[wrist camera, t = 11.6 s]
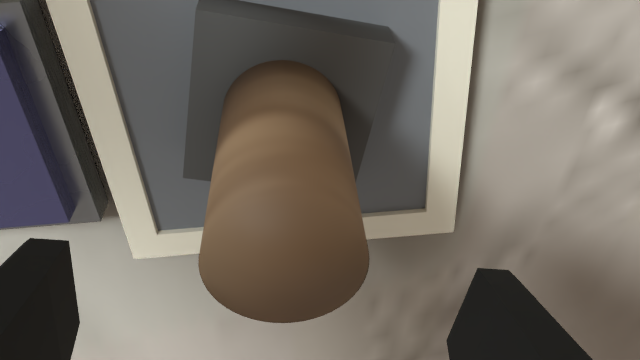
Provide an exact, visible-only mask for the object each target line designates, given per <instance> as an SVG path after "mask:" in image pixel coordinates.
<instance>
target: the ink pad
mask: <svg viewBox="0 0 640 360" xmlns="http://www.w3.org/2000/svg"><path fill="white" fill-rule="evenodd" d="M107 204H108V200H107V197H106V194H105V191H104V188H103V186H102V183H101V180H100V177H99V174H98V171H97V168H96V166H95V163H94V160H93V157H92V154H91V151H90V148H89V146H88V143H87V140H86V137H85V134H84V131H83V128H82V126H81V123H80V120H79V117H78V114H77V111H76V108H75V106H74V103H73V100H72V97H71V94H70V91H69V88H68V86H67V83H66V80H65V77H64V74H63V71H62V68H61V65H60V63H59V60H58V57H57V54H56V51H55V48H54V45H53V43H52V40H51V37H50V34H49V31H48V28H47V25H46V23H45V20H44V17H43V14H42V11H41V8H40V5H39V3H38V0H0V230H1V229H13V228H25V227H37V226H49V225H61V224H73V223H85V222H97V221H101V219H102V216H103V214H104V211H105V209H106V206H107Z"/></svg>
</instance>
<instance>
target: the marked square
mask: <svg viewBox="0 0 640 360" xmlns="http://www.w3.org/2000/svg"><path fill="white" fill-rule="evenodd" d="M198 1H199V0H46V3H47V6H48V9H49V12H50V15H51V18H52V20H53V23H54V26H55V29H56V32H57V35H58V38H59V41H60V44H61V47H62V50H63V53H64V56H65V59H66V61H67V64H68V67H69V70H70V73H71V76H72V79H73V82H74V85H75V88H76V91H77V94H78V97H79V100H80V102H81V105H82V108H83V111H84V114H85V117H86V120H87V123H88V126H89V129H90V132H91V135H92V138H93V141H94V143H95V146H96V149H97V152H98V155H99V158H100V161H101V164H102V167H103V170H104V173H105V176H106V179H107V182H108V184H109V187H110V190H111V193H112V196H113V199H114V202H115V205H116V208H117V211H118V214H119V217H120V220H121V223H122V225H123V228H124V231H125V234H126V237H127V240H128V243H129V246H130V249H131V252H132V255H133V258H134V259H143V258H154V257H166V256H178V255H190V254H199V253H200V247H201V240H202V234H203V228H204V222H205V215H206V209H207V203H208V197H209V190H210V184H211V181H203V180H195V179H187V178H183V168H184V155H185V142H186V129H187V116H188V103H189V89H190V76H191V63H192V50H193V37H194V24H195V11H196V7H197V4H198ZM240 1H246V2H252V3H257V4H263V5H269V6H274V7H280V8H286V9H291V10H297V11H303V12H308V13H314V14H320V15H325V16H331V17H337V18H342V19H348V20H354V21H359V22H365V23H371V24H376V25H382V26H388V27H389V29H390V32H391V34H392V36H393V39H394V41H395V43H396V45H395V48H394V52H393V55H392V59H391V62H390V65H389V69H388V72H387V76H386V79H385V83H384V86H383V90H382V93H381V97H380V100H379V103H378V107H377V110H376V114H375V117H374V121H373V124H372V128H371V131H370V135H369V138H368V141H367V145H366V148H365V152H364V155H363V159H362V162H361V166H360V169H359V173H358V176H357V179H356V188H357V193H358V198H359V203H360V209H361V214H362V219H363V224H364V230H365V235H366V240H367V239H379V238H390V237H402V236H414V235H426V234H438V233H449V232H454V225H455V216H456V206H457V197H458V187H459V178H460V168H461V159H462V149H463V140H464V130H465V121H466V111H467V102H468V92H469V83H470V73H471V64H472V54H473V45H474V36H475V26H476V17H477V7H478V0H240Z"/></svg>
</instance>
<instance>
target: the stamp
mask: <svg viewBox="0 0 640 360" xmlns="http://www.w3.org/2000/svg"><path fill="white" fill-rule="evenodd" d="M395 45H396V43H395V41H394V39H393V36H392V34H391V32H390V29H389V27H388V26H382V25H376V24H371V23H365V22H359V21H354V20H348V19H342V18H337V17H331V16H325V15H320V14H314V13H308V12H303V11H297V10H291V9H286V8H280V7H274V6H269V5H263V4H257V3H252V2H246V1H240V0H199V1H198V4H197V7H196V11H195V24H194V37H193V50H192V63H191V76H190V89H189V103H188V116H187V129H186V142H185V155H184V168H183V178H187V179H195V180H203V181H211V184H210V190H209V197H208V203H207V209H206V215H205V222H204V228H203V234H202V240H201V247H200V253H199V271H200V275H201V278H202V281H203V283H204V285H205V286H206V288H207V290H208V291H209V292H210V294H211V295H212V296H213V297H214V298H215V299H216V300H217V301H218V302H219V303H221V304H222V305H223V306H225V307H226V308H228V309H230V310H231V311H233V312H235V313H237V314H240V315H242V316H245V317H248V318H251V319H255V320H259V321H264V322H272V323H291V322H299V321H305V320H310V319H314V318H317V317H320V316H323V315H325V314H327V313H329V312H332V311H333V310H335V309H337V308H339V307H340V306H342V305H343V304H344V303H346V302H347V301H348V300H349V299H350V298H352V297H353V296H354V295H355V293H356V292H357V291H358V290H359V288H360V287H361V285H362V284H363V282H364V280H365V278H366V275H367V272H368V268H369V251H368V245H367V240H366V235H365V230H364V224H363V219H362V214H361V209H360V203H359V198H358V193H357V188H356V179H357V176H358V173H359V169H360V166H361V162H362V159H363V155H364V152H365V148H366V145H367V141H368V138H369V135H370V131H371V128H372V124H373V121H374V117H375V114H376V110H377V107H378V103H379V100H380V97H381V93H382V90H383V86H384V83H385V79H386V76H387V72H388V69H389V65H390V62H391V59H392V55H393V52H394V48H395Z"/></svg>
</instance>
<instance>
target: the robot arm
mask: <svg viewBox="0 0 640 360" xmlns="http://www.w3.org/2000/svg"><path fill="white" fill-rule="evenodd" d="M79 324H80V321H79V313H78V306H77V299H76V291H75V284H74V276H73V269H72V262H71V254H70V247H69V241H64V240H49V239H34V238H30V239H29V240H27V241H26V242H25V243H23V244H22V245H21V246H20V247H19V248H18V249H17V250H16V251H15V252H14V253H13V254H12V255H11V256H10V257H9V258H8V259H7V260H6V261H5V262H4V263H3V264H2V265H1V266H0V360H70V359H71V355H72V352H73V348H74V344H75V340H76V336H77V332H78V328H79ZM447 345H448V352H449V358H450V360H592V358H591V357H590V356H589V355H588V354H587V353H586V352H585V351H584V350H583V349H582V348H581V347H580V346H579V345H578V344H577V343H576V342H575V341H574V340H573V338H572V337H571V336H570V335H569V334H568V333H567V332H566V331H565V330H564V329H563V328H562V327H561V326H560V324H559V323H558V322H557V321H556V320H555V319H554V318H553V317H552V316H551V315H550V314H549V313H548V311H547V310H546V309H545V308H544V307H543V306H542V305H541V304H540V303H539V302H538V301H537V299H536V298H535V297H534V296H533V295H532V294H531V293H530V292H529V291H528V290H527V289H526V288H525V286H524V285H523V284H522V283H521V282H520V281H519V280H518V279H517V278H516V277H515V276H514V275H513V274H512V273H511V272H510V271H509V270H498V269H483V268H477V271H476V273H475V275H474V278H473V280H472V282H471V285H470V287H469V289H468V292H467V294H466V296H465V299H464V301H463V303H462V306H461V308H460V310H459V313H458V315H457V317H456V320H455V322H454V324H453V327H452V329H451V331H450V334H449V336H448V338H447Z"/></svg>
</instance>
